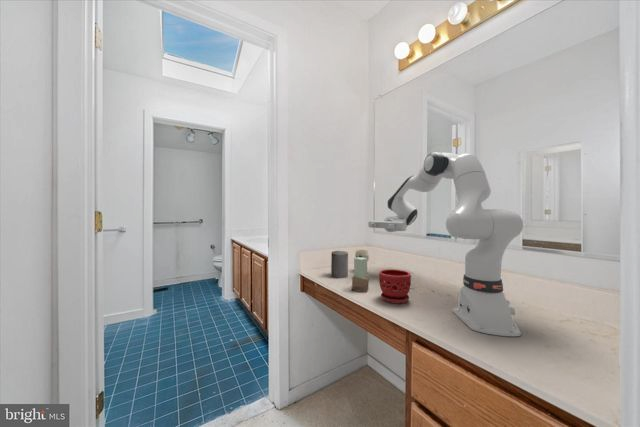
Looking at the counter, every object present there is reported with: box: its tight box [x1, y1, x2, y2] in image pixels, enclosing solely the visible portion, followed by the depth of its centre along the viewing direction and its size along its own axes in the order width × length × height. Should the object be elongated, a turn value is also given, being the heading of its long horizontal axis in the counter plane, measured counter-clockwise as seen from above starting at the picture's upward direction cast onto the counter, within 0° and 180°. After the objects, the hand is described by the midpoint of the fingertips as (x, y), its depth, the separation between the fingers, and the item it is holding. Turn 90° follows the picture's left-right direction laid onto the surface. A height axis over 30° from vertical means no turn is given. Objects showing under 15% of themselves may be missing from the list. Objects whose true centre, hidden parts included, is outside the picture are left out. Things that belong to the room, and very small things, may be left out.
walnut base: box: [351, 274, 370, 293], centre depth 122 cm, size 7×7×6 cm
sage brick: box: [353, 257, 368, 279], centre depth 122 cm, size 4×4×9 cm
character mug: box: [354, 249, 369, 261], centre depth 155 cm, size 11×7×13 cm, turn 35°
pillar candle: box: [330, 249, 349, 279], centre depth 145 cm, size 10×10×15 cm
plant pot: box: [378, 269, 412, 304], centre depth 108 cm, size 13×13×12 cm
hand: (379, 225), depth 133 cm, fingers open, 8 cm apart
